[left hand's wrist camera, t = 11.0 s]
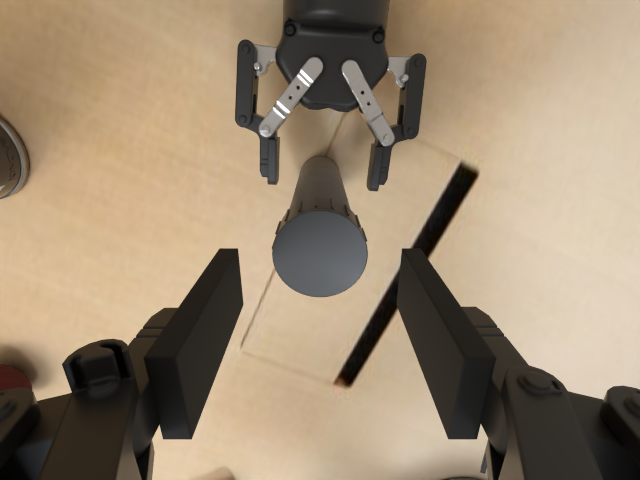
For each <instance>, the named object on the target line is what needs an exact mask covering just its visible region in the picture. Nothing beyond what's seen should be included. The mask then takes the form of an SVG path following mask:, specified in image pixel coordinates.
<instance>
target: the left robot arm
mask: <svg viewBox="0 0 640 480" xmlns="http://www.w3.org/2000/svg"><path fill="white" fill-rule="evenodd" d="M242 307H243V296H242V286H241V276H240V265H239V255H238V249H219V250H218V252H217V253H216V255H215V256H214V257H213V259H212V260H211V262H210V263H209V265H208V266H207V268H206V269H205V270H204V272H203V273H202V275H201V276H200V278H199V279H198V280H197V282H196V283H195V285H194V286H193V288H192V289H191V290H190V292H189V293H188V295H187V296H186V298H185V299H184V300H183V302H182V303H181V305H180V306H179V308H164V309H162V310H161V311H159V312H158V313H156V314H155V315H153V316H152V317H151V318H150V319H149V320H148V322H147V323H146V324H145V325H144V327H143V329H141V330H140V332H139V333H138V334H137V335H136V338H134V339H133V340H132V342H131V343H130V344H129V345H128V346H127V344H126V343H125V342H123V341H122V340H117V339H107V340H100V341H97V342H93V343H90V344H88V345H86V346H84V347H81V348H79V349H78V350H76V351H75V352H73V353H72V354H71V355H69V356H68V357H67V359H66V360H65V361H64V362H63V364H62V366H63V368H64V371H65V374H66V377H67V380H68V382H69V385H70V388H71V391H72V393H69V394H66V395H62V396H57V397H53V398H49V399H44V400H40V401H37V400H36V398H35V395H34V393H33V392H32V391H31V390H30V389H28V388H21V387H16V388H11V389H6V390H2V391H0V480H152V473H153V462H154V447H153V442H152V438H153V436H154V434H155V432H156V430H157V428H158V426H159V424H160V428H161V432H162V436H163V439H192V437H193V434H194V432H195V429H196V426H197V424H198V421H199V419H200V416H201V413H202V411H203V408H204V406H205V403H206V400H207V398H208V395H209V393H210V390H211V387H212V385H213V382H214V380H215V377H216V374H217V372H218V369H219V367H220V364H221V361H222V359H223V356H224V354H225V351H226V348H227V346H228V343H229V341H230V338H231V335H232V333H233V330H234V328H235V325H236V322H237V320H238V317H239V315H240V312H241V309H242ZM397 307H398V309H399V312H400V315H401V317H402V320H403V322H404V325H405V328H406V330H407V333H408V335H409V338H410V341H411V343H412V346H413V348H414V351H415V354H416V356H417V359H418V361H419V364H420V367H421V369H422V372H423V374H424V377H425V380H426V382H427V385H428V387H429V390H430V393H431V395H432V398H433V400H434V403H435V406H436V408H437V411H438V413H439V416H440V419H441V421H442V424H443V426H444V429H445V432H446V434H447V437H448V439H477V436H478V432H479V428H480V424H481V425H482V426H483V428H484V430H485V432H486V434H487V436H488V442H487V446H486V450H485V454H484V457H483V461H482V465H481V471H480V472H481V473H484V474H485V472H486V468H487V472H488V480H640V390H639V389H637V388H632V387H627V386H614V387H612V388H610V389H609V390H608V391H607V393H606V395H605V398H604V400H602V399H598V398H593V397H589V396H585V395H580V394H576V393H572V392H569V391H567V389H566V388H565V386H564V385H563V384H562V383H561V382H560V381H559V380H558V379H557V378H555V377H554V376H553V375H551V374H549V373H547V372H545V371H544V370H541V369H538V368H535V367H532V366H529V365H528V364H527V362H526V361H525V360H524V359H523V358H522V356H521V355H520V354H519V353H518V351H517V350H516V349H515V348H514V346H513V345H512V344H511V343H510V341H509V340H508V339H507V338H506V337H504V334H503V333H502V331H501V330H500V329H499V328H497V325H496V324H495V323H494V321H493V320H492V319H491V318H490V316H489V315H487V314H486V313H484V312H483V311H481V310H480V309H478V308H477V307H461V306H460V305H459V303H458V302H457V300H456V299H455V298H454V296H453V295H452V293H451V292H450V290H449V289H448V288H447V286H446V285H445V283H444V282H443V280H442V279H441V278H440V276H439V275H438V273H437V272H436V270H435V269H434V268H433V266H432V265H431V263H430V262H429V260H428V259H427V257H426V256H425V255H424V253H423V252H422V250H421V249H402V255H401V265H400V276H399V286H398V296H397ZM449 480H478V479H472V478H455V479H449Z"/></svg>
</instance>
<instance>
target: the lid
mask: <svg viewBox="0 0 640 480" xmlns="http://www.w3.org/2000/svg"><path fill="white" fill-rule="evenodd" d="M275 234H276V237H275V240H274V243H273V246H272V249H273V252H272V256H273V263H274V266H275V269H276V271H277V273H278V275H279V276H280V278H281V279H282V280H283V281H284V282H285V284H286V285H288V286H289V287H290V288H292V289H293V290H295V291H297V292H299V293H301V294H304V295H307V296H312V297H328V296H333V295H336V294H339V293H341V292H343V291H345V290H347V289H348V288H350V287H351V286H352V285H353V284H355V283H356V281H357V280H358V279H359V278H360V276H361V275H362V273H363V271H364V269H365V266H366V263H367V256H368V251H367V244H366V242H367V239H366V236H365V233H364V230H363V228H361V225H360V222H359V219H358V216H357V215H355V214H354V213H353V212H352V211H351V210H350V209H349V208H348V207H347V205H346V204H345V205H344V204H342V203H340V202H338V201H336V200H333V198H331V199H329V198H317V197H315V198H311V199H307V200H304V201H302V200H301V201H300V203H298V204H296V205H295V206H293V207H292V208H291V209H290V210H289V209H288V210H287V213H286V214H285V216H284V217H283V219H282V221H280V222H279V224H278V227H277V230H276V233H275Z"/></svg>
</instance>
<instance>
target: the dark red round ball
mask: <svg viewBox="0 0 640 480" xmlns="http://www.w3.org/2000/svg"><path fill="white" fill-rule="evenodd" d="M16 387H21V388H28V389H30V390H31V391H32V386H31V382H30V381H29V379H28V378H27V376H26V375H25V374H24V373H22V372H20V371H19V370H17V369H15V368H13V367H10V366H6V365H0V391H2V390H6V389H11V388H16Z"/></svg>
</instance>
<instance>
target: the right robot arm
mask: <svg viewBox="0 0 640 480" xmlns="http://www.w3.org/2000/svg"><path fill="white" fill-rule="evenodd" d="M389 2H390V0H284V6H283V33H282V38H281V41H280V43H279V45H278V47H277V48H276V47H269V46H262V45H256V44H253V43H252V42H251V41H249V40H242V41H241V42H240V43H239V45H238V55H237V82H236V108H235V121H236V123H237V124H238V125H239V126H240V127H245V128H247V129H250V130H252V131H254V132H255V133H257V134H258V136H259V138H260V172H261V175H262V177H268V184H273V185H277V183H278V179H279V148H280V137H277V130H278V129H279V128H280V126H281V125H282V124H283V123H284V121H285V120H286V119H287V118H288V116H289V115H290V114H291V113H292V112H293V110H294V109H295V108H296V107H297V105H298V104H299V103H301V104H302V105H303V106H304V107H306V108H309V109H315V110H320V109H325V108H331V109H334V110H336V111H341V112H349V111H352V110H354V109H356V108H357V109H358V111H359V113H360V114H361V116H362V118H363V119H364V121H365V122H366V124H367V126H368V127H369V129H370V131H371V133H372V134H373V136H374V138H375V144H371V152H370V160H369V169H368V177H367V188H368V190H369V191H378V188H379V185H384V184H385V182H386V180H387V177H388V170H389V163H390V156H391V150H392V147H393V146H394V144H396V143H397V142H400V141H403V140H407V139H413V138H415V137H416V136H417V135H418V131H419V123H420V114H421V105H422V96H423V88H424V79H425V70H426V58H425V56H424V55H423V54H415V55H413V56H411V57H388V55H387V52H386V48H385V34H386V26H387V18H388V10H389ZM272 63H276V64H277V66H278V68H279V69H280V71H281V73H282V74H283V76H284V78H285V79H286V81H287V83H288V84H289V86H288V87H287V89H286V90H285V91H284V92H283V94H282V95H281V96H280V98H279V99H278V100H277V102H276V103H275V105H274V106H273V108H272V109H271V110H270V112H269V113H268V114H267V116H266V117H263V116H260V115H258V114H256V112H257V95H258V79H259V77H262V76H265V75H266V73H267V71H268V67H269V66H270V65H271V64H272ZM386 72H389V73H390V74H391V75H392V77H393V83H394V85H395V86H396V87H398V88H400V96H399V107H398V118H397V124H396V125H393V126H389V124H388V123H387V121H386V119H385V117H384V115H383V112H382V110H381V108H380V106H379V104H378V102H377V100H376V99H375V97H374V95H373V93H372V90H373V88H374V87H375V86H376V85H377V84H378V82H379V81H380V80H381V79H382V77H383V76H384V75H385V74H386ZM28 174H29V160H28V156H27V152H26V150H25V147H24V145H23V143H22V141H21V139H20V138H19V136H18V135H17V133H16V132H15V131H14V130H13V128H12V127H11V126H10V125H9V124H8V123H7V122H6V121H5V120H3V119H2V118H1V117H0V199H2V198H6V197H9V196H12V195H14V194H15V193H17V192H18V191H20V190H21V189H22V187H23V186H24V185H25V183H26V181H27V178H28Z"/></svg>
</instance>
